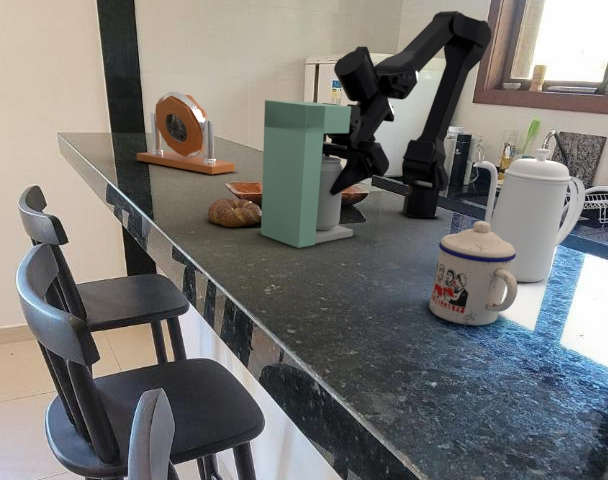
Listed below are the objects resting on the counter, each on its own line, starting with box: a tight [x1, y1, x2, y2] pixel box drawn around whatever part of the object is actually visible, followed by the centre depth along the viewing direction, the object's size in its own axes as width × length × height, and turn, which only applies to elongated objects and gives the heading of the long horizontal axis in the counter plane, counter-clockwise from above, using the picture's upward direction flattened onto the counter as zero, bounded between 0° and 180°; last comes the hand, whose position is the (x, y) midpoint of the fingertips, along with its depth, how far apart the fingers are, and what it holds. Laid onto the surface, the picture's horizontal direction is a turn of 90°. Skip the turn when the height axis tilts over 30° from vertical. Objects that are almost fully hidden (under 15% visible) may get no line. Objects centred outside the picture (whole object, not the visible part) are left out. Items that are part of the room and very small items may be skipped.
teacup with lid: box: [429, 220, 519, 326], centre depth 65 cm, size 12×9×12 cm
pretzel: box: [207, 197, 262, 228], centre depth 103 cm, size 12×11×4 cm
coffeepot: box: [472, 148, 586, 283], centre depth 81 cm, size 11×25×19 cm, turn 117°
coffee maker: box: [260, 99, 354, 249], centre depth 93 cm, size 14×10×22 cm
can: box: [316, 156, 344, 230], centre depth 96 cm, size 8×8×12 cm
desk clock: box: [136, 91, 236, 176], centre depth 154 cm, size 12×30×20 cm, turn 58°
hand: (315, 189), depth 95 cm, fingers closed on can, 7 cm apart
